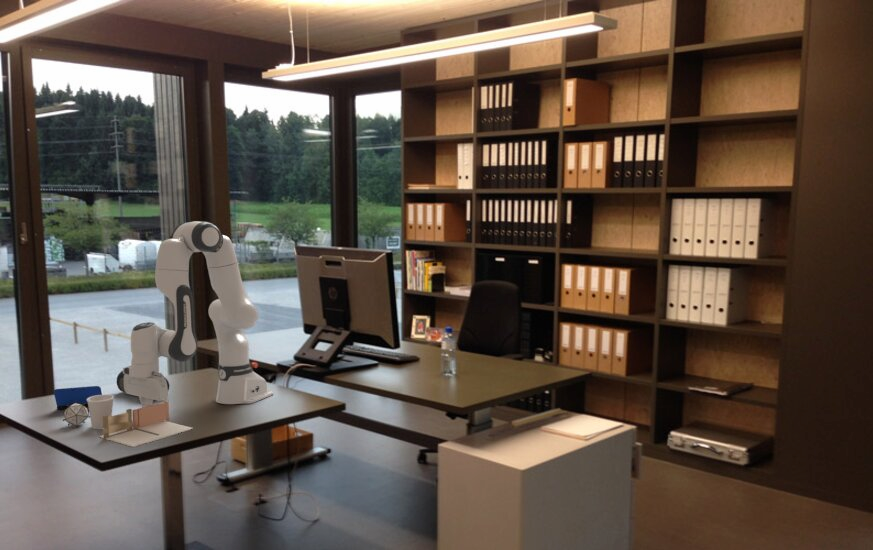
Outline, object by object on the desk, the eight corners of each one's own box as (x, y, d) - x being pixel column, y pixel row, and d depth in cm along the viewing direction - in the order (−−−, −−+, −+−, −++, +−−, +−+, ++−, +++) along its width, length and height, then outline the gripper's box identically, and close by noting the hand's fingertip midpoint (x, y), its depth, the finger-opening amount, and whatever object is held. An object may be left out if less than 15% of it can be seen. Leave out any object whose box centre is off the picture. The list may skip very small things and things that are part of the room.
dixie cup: (105, 431, 237) (103, 401, 236) (82, 429, 238) (80, 400, 237) (120, 423, 245) (119, 395, 244) (98, 422, 246) (97, 393, 245)
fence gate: (135, 429, 237) (134, 410, 236) (132, 428, 238) (131, 409, 237) (170, 419, 248) (169, 401, 247) (167, 418, 249) (166, 400, 248)
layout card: (158, 420, 249) (158, 419, 249) (192, 429, 239) (192, 427, 239) (99, 437, 230) (99, 435, 230) (133, 447, 220) (133, 445, 220)
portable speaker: (112, 394, 285) (111, 369, 284) (135, 388, 293) (134, 364, 292) (149, 403, 271) (148, 377, 270) (172, 398, 279) (172, 372, 278)
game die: (74, 435, 244) (72, 408, 249) (97, 427, 244) (95, 399, 248) (56, 429, 236) (55, 401, 241) (79, 420, 236) (78, 392, 240)
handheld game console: (107, 401, 275) (106, 377, 274) (101, 410, 262) (100, 385, 261) (62, 404, 270) (60, 380, 269) (54, 414, 257) (52, 388, 257)
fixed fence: (130, 430, 237) (129, 408, 236) (133, 430, 236) (132, 409, 236) (102, 438, 229) (101, 416, 228) (105, 438, 228) (104, 416, 227)
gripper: (172, 372, 244) (173, 412, 245) (135, 365, 255) (137, 403, 257) (156, 375, 239) (157, 416, 240) (119, 368, 250) (121, 407, 251)
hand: (146, 409), depth 248 cm, fingers closed
